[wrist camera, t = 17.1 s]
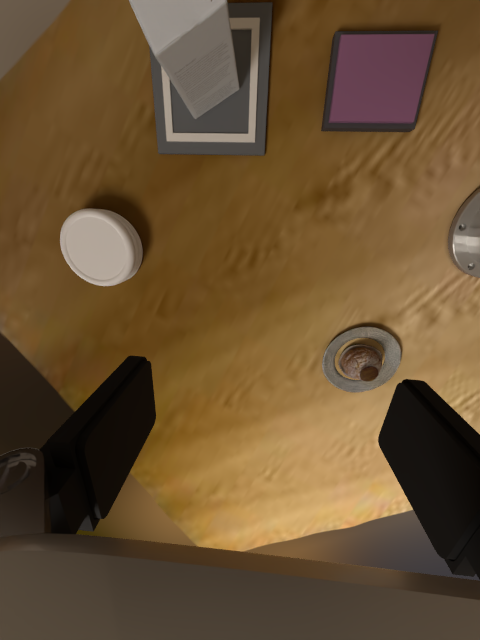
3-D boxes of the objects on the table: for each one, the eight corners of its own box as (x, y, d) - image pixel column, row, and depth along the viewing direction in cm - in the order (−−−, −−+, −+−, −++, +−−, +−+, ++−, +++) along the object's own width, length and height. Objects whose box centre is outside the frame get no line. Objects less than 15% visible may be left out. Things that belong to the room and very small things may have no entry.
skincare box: (222, 45, 26) (197, -85, 15) (240, 90, 27) (230, 1, 16) (174, 80, 27) (119, -16, 16) (194, 121, 29) (155, 58, 18)
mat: (272, 5, 25) (272, 0, 25) (264, 155, 30) (264, 154, 29) (147, 7, 26) (145, 2, 25) (159, 153, 31) (157, 152, 30)
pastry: (347, 311, 37) (359, 323, 33) (413, 342, 38) (433, 358, 34) (307, 371, 41) (313, 389, 37) (368, 398, 43) (380, 417, 38)
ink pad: (431, 37, 25) (441, 26, 24) (409, 131, 28) (417, 127, 27) (332, 38, 26) (337, 27, 24) (321, 131, 29) (324, 126, 27)
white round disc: (68, 259, 37) (49, 263, 33) (87, 194, 33) (68, 191, 30) (130, 293, 38) (118, 300, 35) (154, 234, 34) (144, 235, 31)
